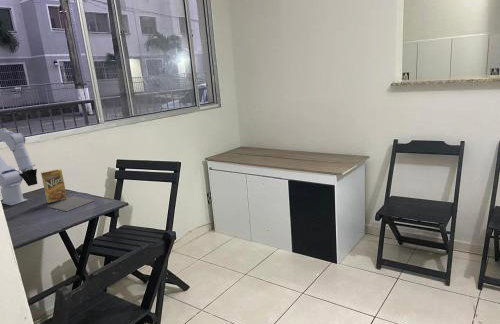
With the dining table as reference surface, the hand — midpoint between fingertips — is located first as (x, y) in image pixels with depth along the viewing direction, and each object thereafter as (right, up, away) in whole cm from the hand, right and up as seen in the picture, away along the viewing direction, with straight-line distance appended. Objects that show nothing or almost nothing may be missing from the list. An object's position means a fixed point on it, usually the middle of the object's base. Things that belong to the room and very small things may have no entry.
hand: (32, 185), depth 175 cm
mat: (+17, -9, +2) cm, 20 cm away
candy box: (+8, -8, +7) cm, 14 cm away
